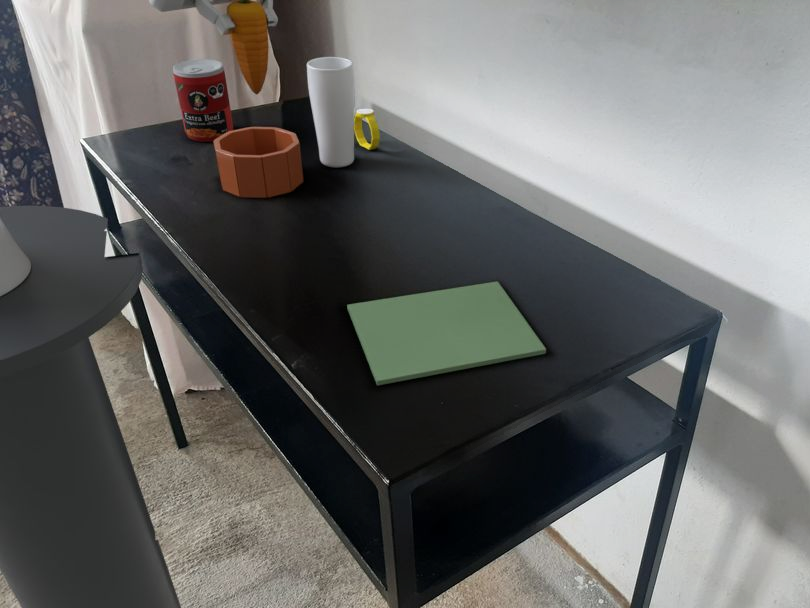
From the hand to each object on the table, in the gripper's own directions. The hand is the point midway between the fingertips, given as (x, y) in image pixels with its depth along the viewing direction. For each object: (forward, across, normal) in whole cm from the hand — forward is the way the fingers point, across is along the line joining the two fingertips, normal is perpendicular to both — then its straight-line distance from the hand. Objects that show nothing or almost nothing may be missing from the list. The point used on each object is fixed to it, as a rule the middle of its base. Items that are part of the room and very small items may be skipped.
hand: (251, 28), depth 92 cm
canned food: (-2, +5, +33) cm, 34 cm away
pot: (+13, +1, +18) cm, 22 cm away
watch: (+13, +21, +18) cm, 31 cm away
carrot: (+6, 0, +6) cm, 9 cm away
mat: (+45, -7, -14) cm, 48 cm away
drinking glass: (+14, +13, +17) cm, 26 cm away
